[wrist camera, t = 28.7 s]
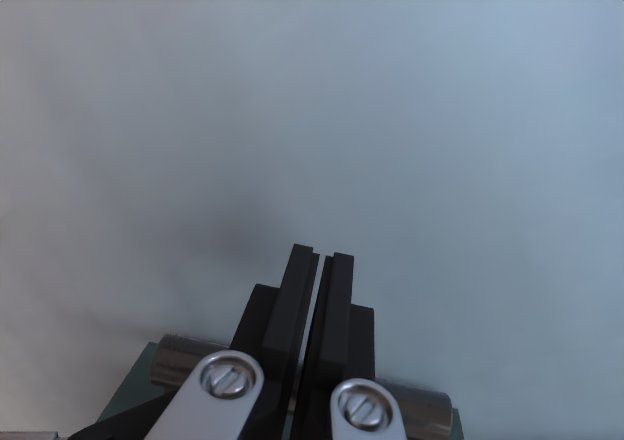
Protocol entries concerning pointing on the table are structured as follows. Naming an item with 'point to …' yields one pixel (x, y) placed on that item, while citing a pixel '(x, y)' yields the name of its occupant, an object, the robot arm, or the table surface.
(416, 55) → the table surface
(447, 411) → the drawer
